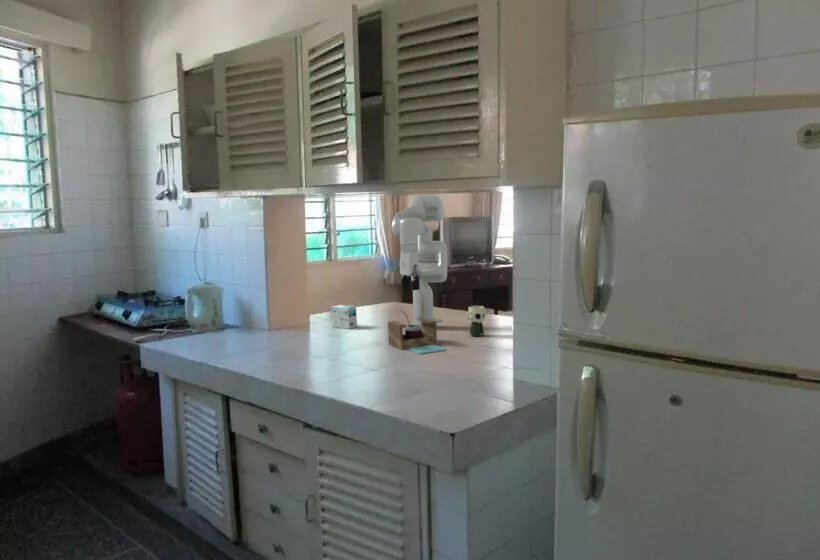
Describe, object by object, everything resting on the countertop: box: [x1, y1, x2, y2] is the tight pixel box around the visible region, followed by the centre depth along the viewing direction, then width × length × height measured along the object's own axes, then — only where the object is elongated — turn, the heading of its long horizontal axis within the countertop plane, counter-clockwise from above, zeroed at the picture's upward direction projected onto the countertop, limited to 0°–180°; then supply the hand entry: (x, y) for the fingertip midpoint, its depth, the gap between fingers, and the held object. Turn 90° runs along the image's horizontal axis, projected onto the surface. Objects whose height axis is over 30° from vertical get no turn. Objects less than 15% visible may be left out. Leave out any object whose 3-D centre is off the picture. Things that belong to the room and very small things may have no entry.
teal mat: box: [408, 344, 447, 355], centre depth 261 cm, size 12×10×1 cm
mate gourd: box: [399, 309, 422, 340], centre depth 272 cm, size 8×8×15 cm
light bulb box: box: [331, 304, 358, 330], centre depth 316 cm, size 11×7×11 cm, turn 58°
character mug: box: [466, 305, 487, 337], centre depth 285 cm, size 11×7×13 cm, turn 125°
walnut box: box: [387, 317, 438, 351], centre depth 272 cm, size 17×12×10 cm
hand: (410, 288), depth 270 cm, fingers open, 9 cm apart
